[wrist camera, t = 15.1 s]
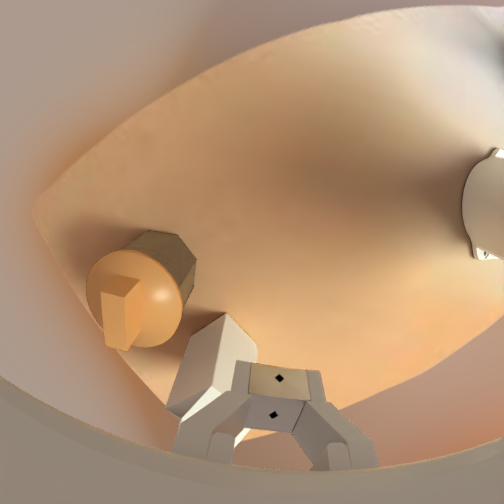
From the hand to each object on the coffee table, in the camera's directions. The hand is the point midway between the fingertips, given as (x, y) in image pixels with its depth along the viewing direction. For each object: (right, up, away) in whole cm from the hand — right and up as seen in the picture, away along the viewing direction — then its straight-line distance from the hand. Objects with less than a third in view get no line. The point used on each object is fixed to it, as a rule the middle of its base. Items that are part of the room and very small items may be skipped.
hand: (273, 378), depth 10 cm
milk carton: (-5, -8, +32) cm, 33 cm away
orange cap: (-13, 0, +21) cm, 25 cm away
